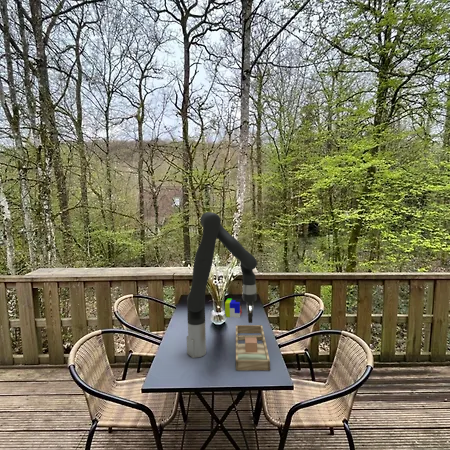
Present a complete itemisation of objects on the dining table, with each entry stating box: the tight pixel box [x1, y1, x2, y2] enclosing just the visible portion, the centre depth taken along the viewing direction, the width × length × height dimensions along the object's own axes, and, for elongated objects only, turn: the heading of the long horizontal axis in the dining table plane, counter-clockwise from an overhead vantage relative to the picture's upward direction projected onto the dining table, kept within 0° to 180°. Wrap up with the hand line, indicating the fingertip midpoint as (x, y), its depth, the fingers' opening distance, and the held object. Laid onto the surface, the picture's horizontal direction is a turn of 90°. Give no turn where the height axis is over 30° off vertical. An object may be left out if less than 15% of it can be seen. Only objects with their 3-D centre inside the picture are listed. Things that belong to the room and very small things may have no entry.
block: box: [244, 337, 258, 352], centre depth 155 cm, size 6×6×5 cm
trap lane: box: [235, 324, 271, 371], centre depth 159 cm, size 40×16×4 cm, turn 178°
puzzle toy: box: [224, 298, 243, 319], centre depth 207 cm, size 10×10×10 cm
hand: (250, 322), depth 163 cm, fingers closed
